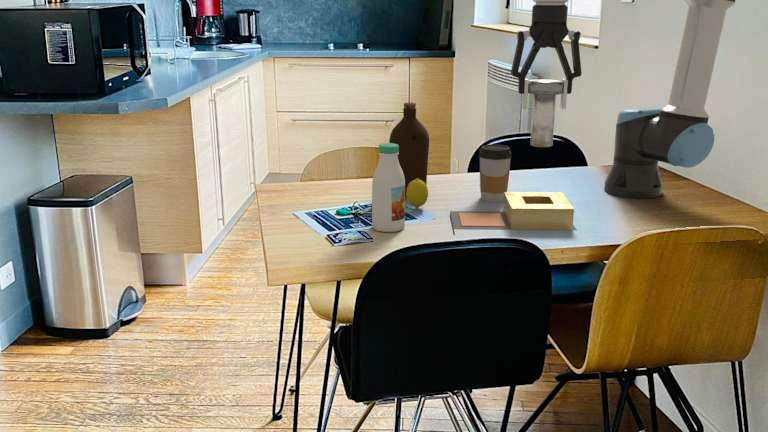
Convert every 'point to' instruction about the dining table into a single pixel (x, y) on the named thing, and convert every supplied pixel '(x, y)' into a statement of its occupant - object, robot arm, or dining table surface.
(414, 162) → the olive oil
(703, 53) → the robot arm
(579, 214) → the dining table surface
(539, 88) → the steel peg
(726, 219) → the dining table surface
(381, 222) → the milk bottle
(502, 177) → the coffee cup
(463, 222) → the base mat
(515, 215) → the light wooden flat block
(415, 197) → the lemon
